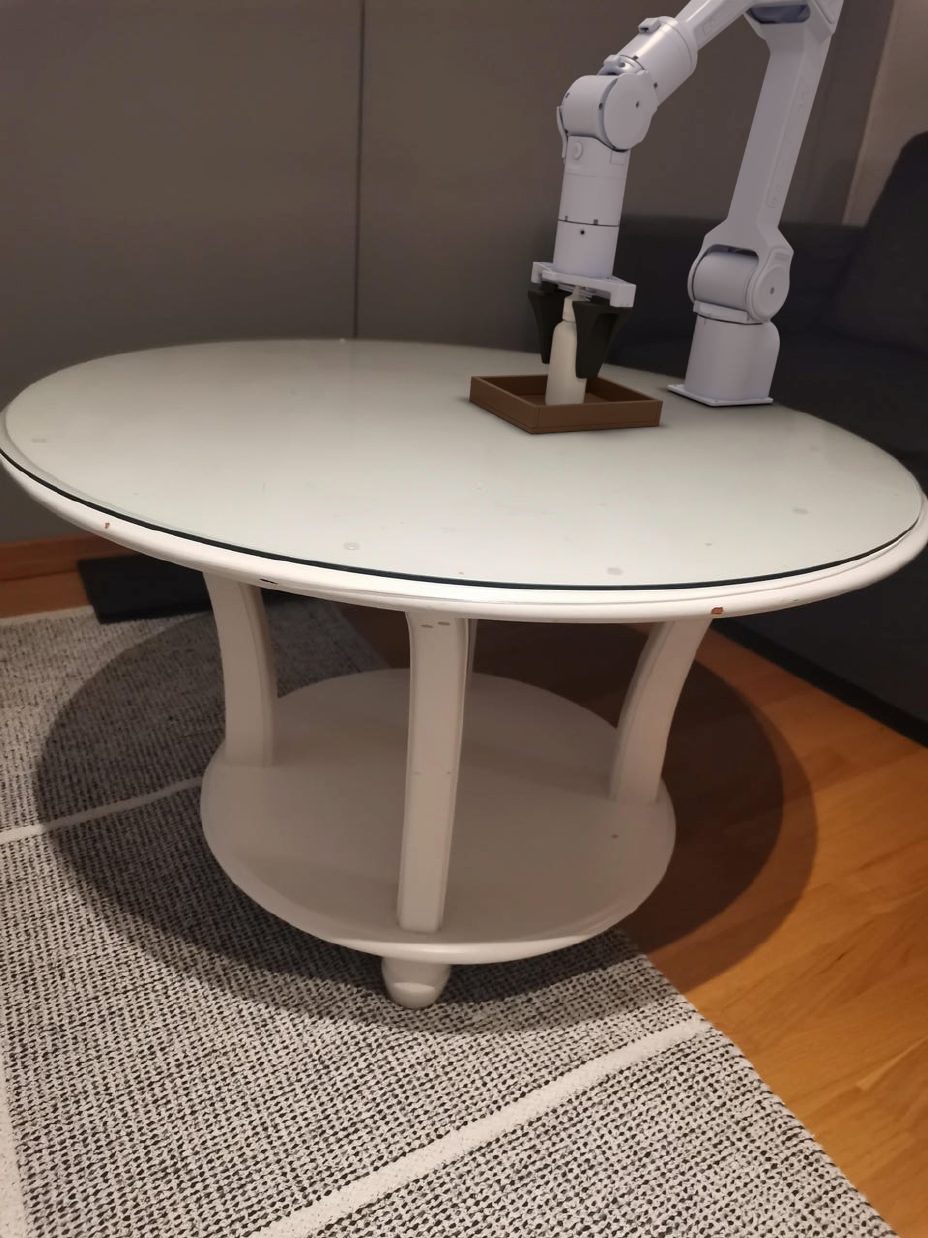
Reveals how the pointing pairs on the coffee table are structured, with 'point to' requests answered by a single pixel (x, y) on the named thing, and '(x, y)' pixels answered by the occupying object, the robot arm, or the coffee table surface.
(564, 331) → the eye dropper bottle
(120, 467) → the coffee table surface
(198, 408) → the coffee table surface
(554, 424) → the tray
